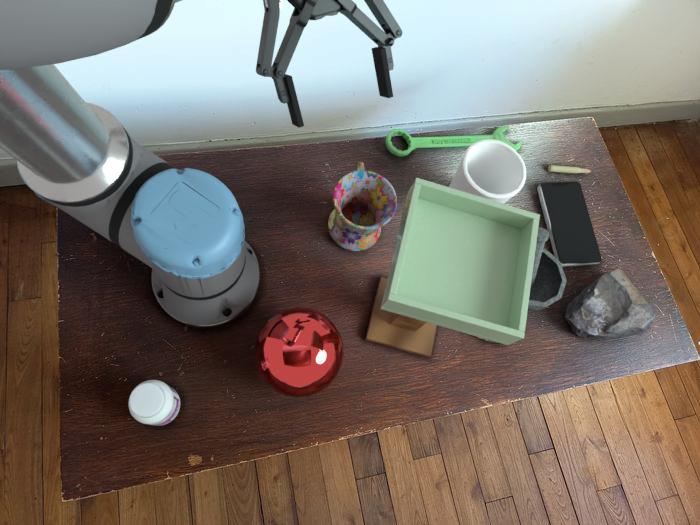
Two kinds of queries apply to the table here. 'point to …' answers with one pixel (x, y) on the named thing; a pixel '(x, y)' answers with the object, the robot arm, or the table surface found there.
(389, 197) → the mug
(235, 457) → the table surface
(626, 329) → the rock
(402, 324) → the stand
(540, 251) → the mortar and pestle
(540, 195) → the smartphone
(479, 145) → the cup
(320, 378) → the ball
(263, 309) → the table surface
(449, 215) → the tray
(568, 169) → the bullet
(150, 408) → the pill bottle
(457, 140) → the wrench
